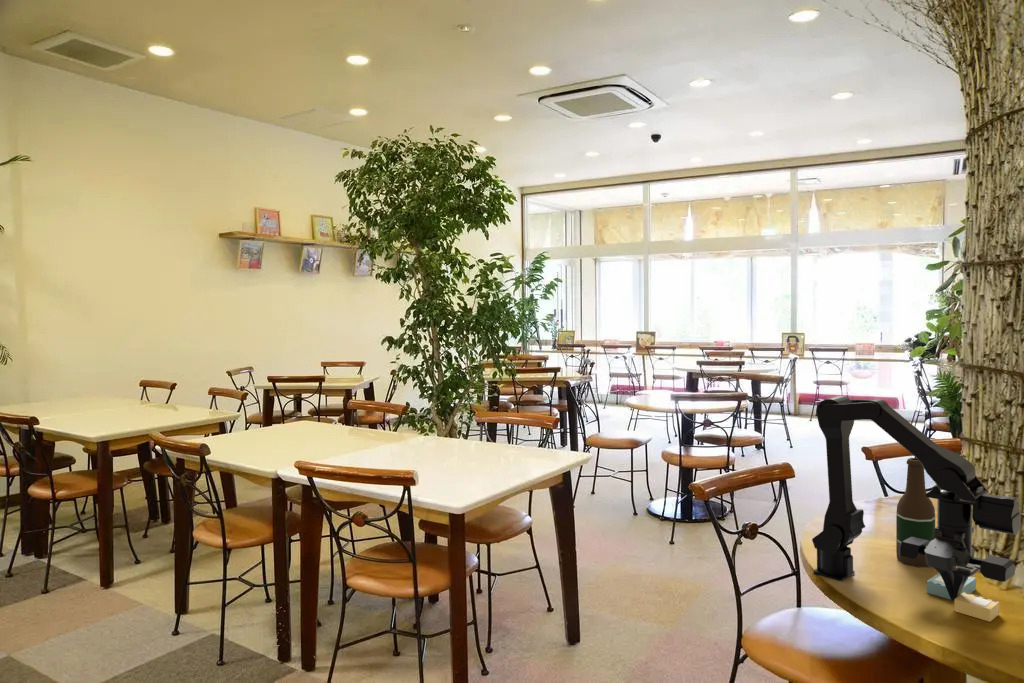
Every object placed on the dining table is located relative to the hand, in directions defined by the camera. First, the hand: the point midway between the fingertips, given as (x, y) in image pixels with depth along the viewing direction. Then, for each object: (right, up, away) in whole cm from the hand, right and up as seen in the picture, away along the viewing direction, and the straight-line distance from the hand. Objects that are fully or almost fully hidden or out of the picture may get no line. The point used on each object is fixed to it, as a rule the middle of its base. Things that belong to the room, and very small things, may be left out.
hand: (954, 600), depth 137 cm
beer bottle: (+6, 0, +23) cm, 24 cm away
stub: (+2, -1, -3) cm, 4 cm away
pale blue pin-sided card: (+4, -1, +7) cm, 8 cm away
